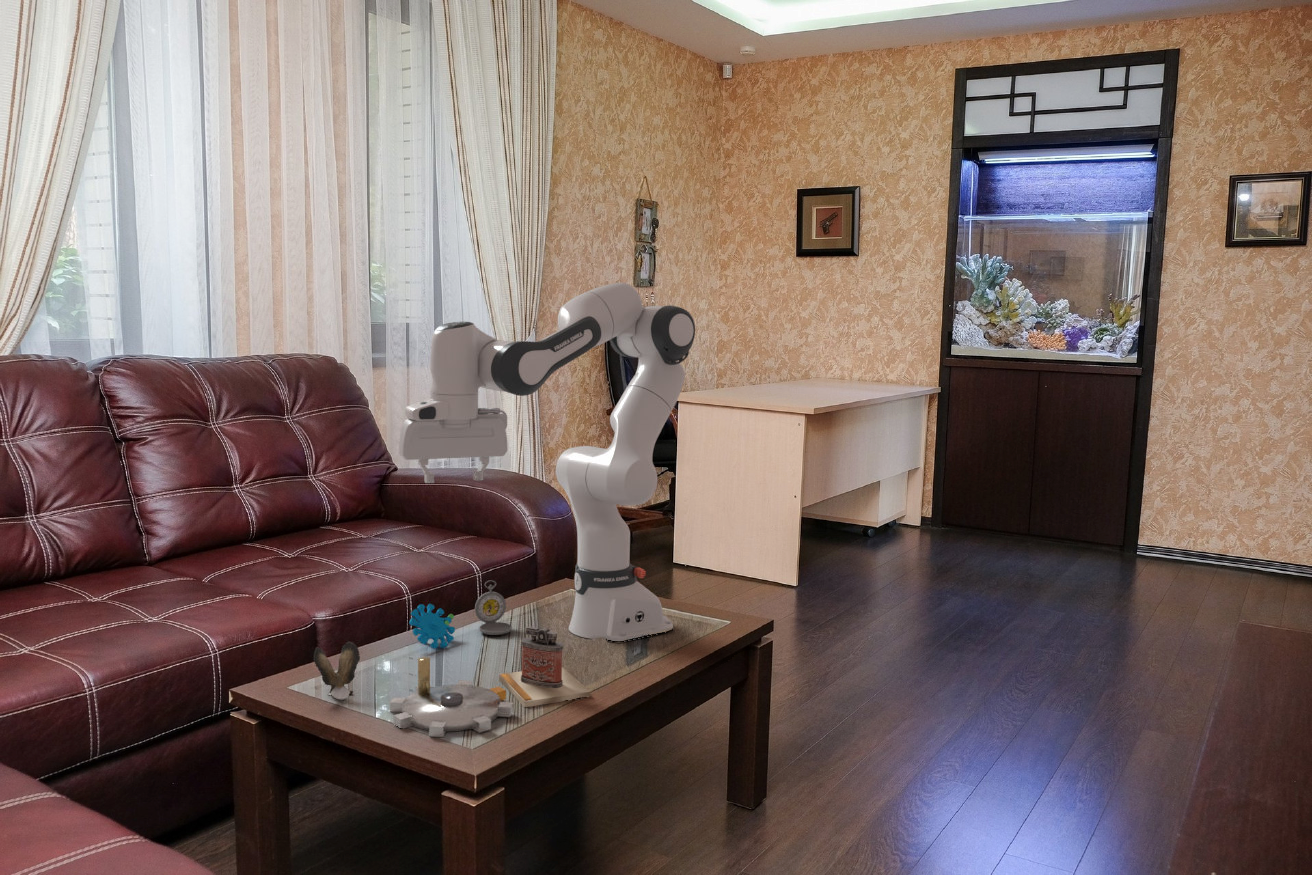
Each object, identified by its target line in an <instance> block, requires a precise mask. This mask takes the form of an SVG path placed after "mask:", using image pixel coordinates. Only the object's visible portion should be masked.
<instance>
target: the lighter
mask: <svg viewBox="0 0 1312 875" xmlns="http://www.w3.org/2000/svg"><path fill="white" fill-rule="evenodd" d="M524 629H525V631H524V632H525V633H524V634H525V635H526V636H531V637H524V638H521V642H520V643H521V648H522V649H521V671H522V675H521V682H523V683H527V684H530V685H534V686H539V687H546V688H560V687H562V686H563V680H562V667H563V650H564V643H561V642H559V641H557V638H558V632H557V631H553V630H550V629H549V627H544V628H542V629H541V628H539V627H535V626H530V625H529V626H526V627H525V628H524Z"/></svg>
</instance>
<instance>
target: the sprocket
mask: <svg viewBox="0 0 1312 875" xmlns="http://www.w3.org/2000/svg"><path fill="white" fill-rule="evenodd" d="M414 689H415V692H413V693H411V694H409V695H408V696H407V697H397V696H396V697H395V696H394V697H393V698H392V699H391V701H390V702H389V711H390V713H392V712H393V713H397V714H394V715H393V726H395V725H396V726H398V727H399V728H403V729H406V728H410V727H415V728H416V729H421V730H424V731H428V736H429V737H432V738H433V737H437V738H444V737H445V736H446V733H447V732H460V731H467V730H474V731H475V732H477V733H479V734H481V733H483V732H486V731H489V730H492V722H493V721H494V720H495V719H497V718H498V717H505V718H506V717H507V718H511V716H512V714H513V712H514V702H513V701H511V702H509V701H504V700H506V699H507V690H506V689H504V688H502V687H501V686H495V687H492V688H486V687H482V686H479V685H473V681H472V680H463V679H462V680H459V681H458V682H457V683H456V684H444V685H437V686H432V685H431V658H430V657H428V656H423V657H419V658H418V659H417V685H416V686H415V687H414ZM396 726H395V727H396ZM398 727H397V728H398ZM399 728H398V729H399Z"/></svg>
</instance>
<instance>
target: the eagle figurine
mask: <svg viewBox="0 0 1312 875" xmlns="http://www.w3.org/2000/svg"><path fill="white" fill-rule="evenodd" d="M360 658H361V656H360V651H359V648H358V646H357V645H356V644H355V643H354V642H351V641H349V640H348V641H347V642H345V643H344V645H342V648H341V652H340V656H339V659H338V668H337V671H336V672H335V670H334V667H333V666H332V664H331V662H330V660H329V659H328V657H327V656H326V654H325V651H324V650H323V649H322V648H319V647H318V646H317V647H315V650H314V654H313V661H314V664H315V666H316V668H317V670H318V671H319V673H320V675H321V680H322V682H323V683H324V684H325V685H326V686H330V690H329V692H328V694H329V693H331V695H332V696H331V697H333V698H335V699H336V700H341V701H342V700H346V699H347V698H348V697H349V696H350V695H349V694H352V695H353V694H354V691H352V690H349V689H348V688H347V687H345V685H349V684H351V682H352V681H353V680H354V678H355V677H356V676H355V674H356V673H355V672H356V669H357V666H358V665H359V664H358V663H359V662H360Z"/></svg>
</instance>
